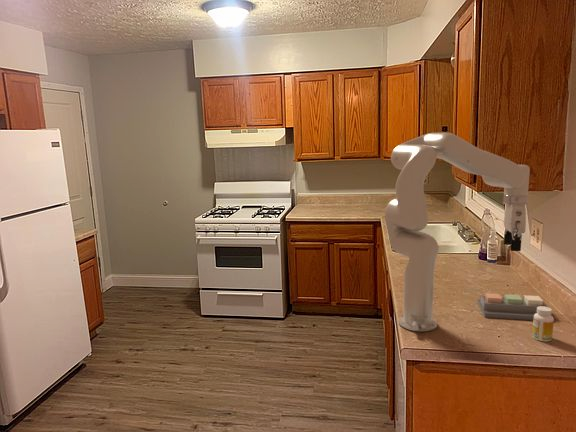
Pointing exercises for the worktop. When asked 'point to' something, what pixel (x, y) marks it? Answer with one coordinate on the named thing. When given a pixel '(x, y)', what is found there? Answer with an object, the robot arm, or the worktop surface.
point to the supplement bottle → (543, 324)
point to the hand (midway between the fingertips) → (511, 247)
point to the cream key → (533, 300)
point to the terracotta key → (493, 298)
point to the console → (508, 309)
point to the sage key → (513, 299)
